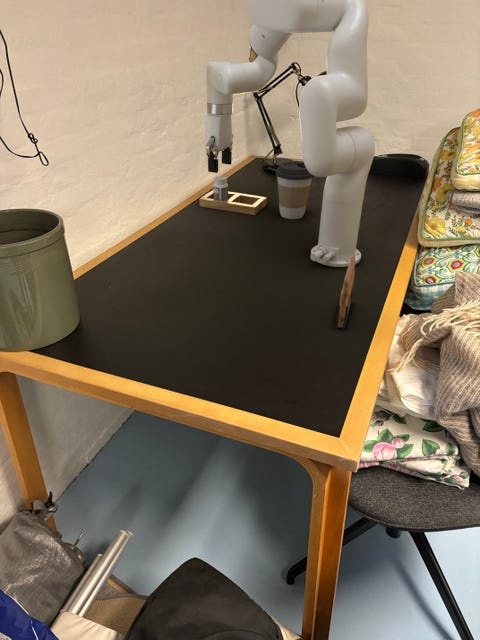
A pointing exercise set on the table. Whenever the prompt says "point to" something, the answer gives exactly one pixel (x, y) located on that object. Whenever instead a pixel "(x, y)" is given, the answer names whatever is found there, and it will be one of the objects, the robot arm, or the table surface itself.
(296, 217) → the coffee cup
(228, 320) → the table surface
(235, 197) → the holder
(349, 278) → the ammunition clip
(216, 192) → the pill bottle
